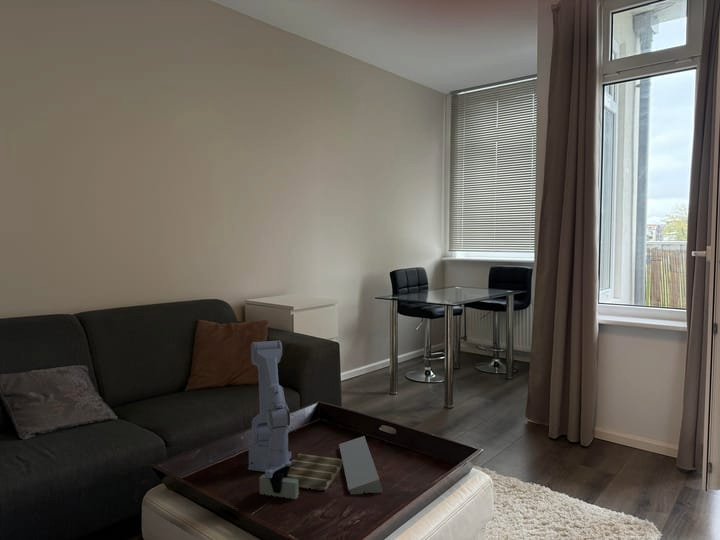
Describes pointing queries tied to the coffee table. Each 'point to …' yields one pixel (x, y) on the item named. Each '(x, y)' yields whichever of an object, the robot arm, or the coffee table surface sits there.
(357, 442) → the grey rectangular block
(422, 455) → the coffee table surface
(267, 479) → the clay strip
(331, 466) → the ribbed tan slab
